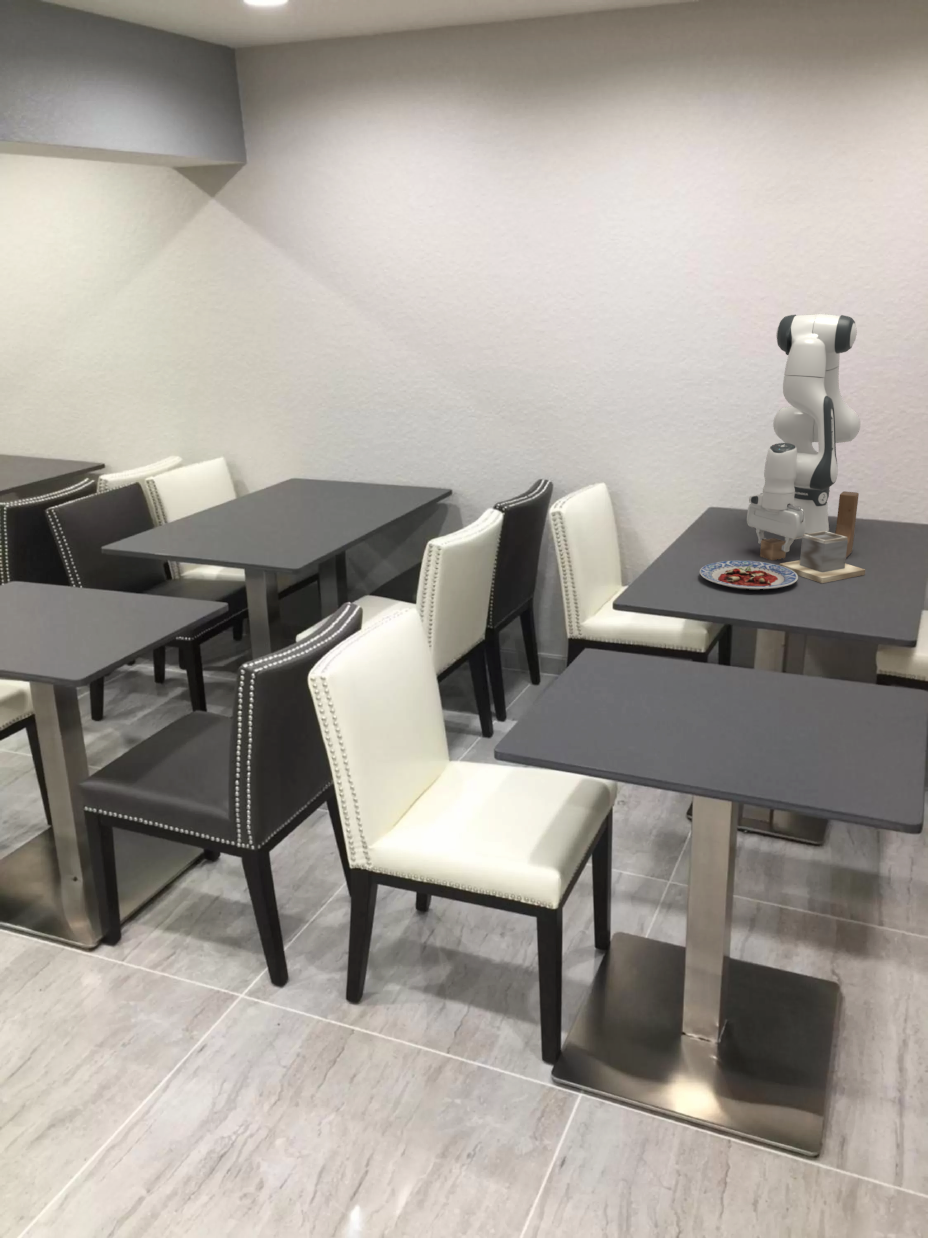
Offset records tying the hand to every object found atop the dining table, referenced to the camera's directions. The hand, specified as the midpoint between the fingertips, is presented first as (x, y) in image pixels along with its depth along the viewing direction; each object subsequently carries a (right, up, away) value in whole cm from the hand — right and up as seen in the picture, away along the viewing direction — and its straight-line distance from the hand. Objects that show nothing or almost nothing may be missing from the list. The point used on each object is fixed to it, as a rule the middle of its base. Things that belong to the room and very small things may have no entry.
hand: (773, 547), depth 294 cm
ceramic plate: (-13, -11, -20) cm, 26 cm away
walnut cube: (0, -3, +1) cm, 3 cm away
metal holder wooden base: (+9, -8, -13) cm, 18 cm away
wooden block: (+21, -2, +3) cm, 21 cm away
